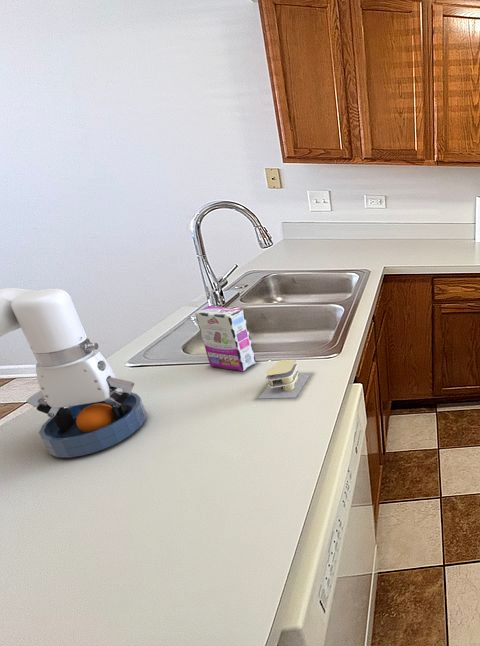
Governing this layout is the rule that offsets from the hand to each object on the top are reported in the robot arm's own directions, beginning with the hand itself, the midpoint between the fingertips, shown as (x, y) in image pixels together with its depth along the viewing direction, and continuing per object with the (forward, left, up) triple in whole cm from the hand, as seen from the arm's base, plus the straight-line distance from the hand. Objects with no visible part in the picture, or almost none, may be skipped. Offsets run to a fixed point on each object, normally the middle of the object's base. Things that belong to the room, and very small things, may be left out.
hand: (96, 423), depth 83 cm
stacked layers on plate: (+35, +7, -3) cm, 36 cm away
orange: (0, 0, +1) cm, 1 cm away
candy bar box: (+20, +22, -3) cm, 30 cm away
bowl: (0, 0, -2) cm, 2 cm away
